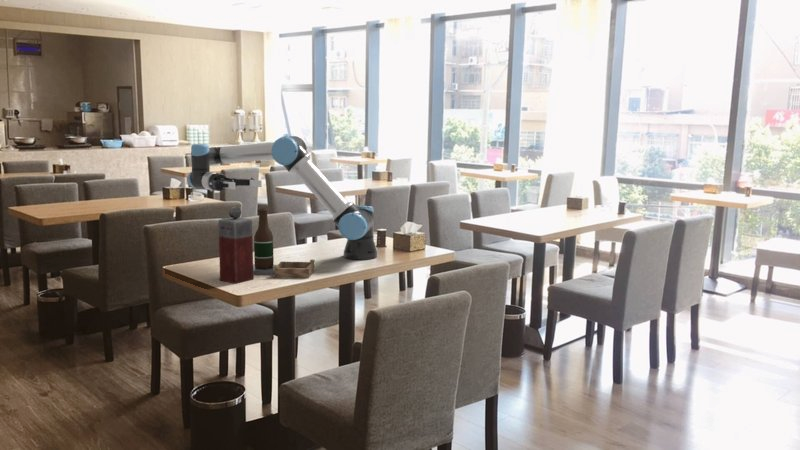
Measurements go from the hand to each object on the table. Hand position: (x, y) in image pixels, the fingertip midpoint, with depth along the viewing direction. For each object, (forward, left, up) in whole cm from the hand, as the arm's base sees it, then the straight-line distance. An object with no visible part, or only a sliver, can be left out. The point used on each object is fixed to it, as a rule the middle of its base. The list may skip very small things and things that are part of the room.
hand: (248, 184), depth 278 cm
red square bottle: (0, +23, -34) cm, 41 cm away
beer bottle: (-8, +8, -33) cm, 35 cm away
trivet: (-8, +8, -34) cm, 36 cm away
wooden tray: (-21, +12, -34) cm, 42 cm away
